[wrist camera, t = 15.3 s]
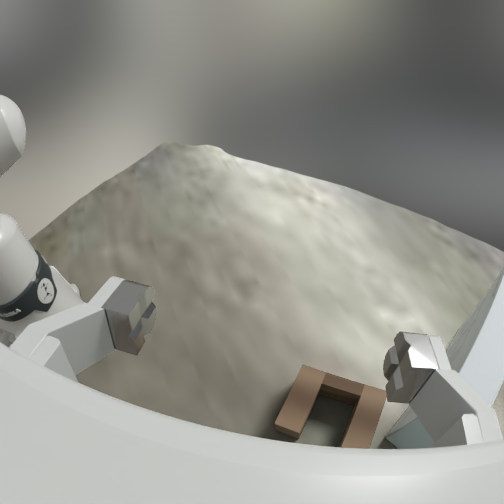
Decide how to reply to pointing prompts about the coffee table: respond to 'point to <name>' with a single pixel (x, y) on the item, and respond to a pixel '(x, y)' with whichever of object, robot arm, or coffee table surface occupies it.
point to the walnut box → (336, 388)
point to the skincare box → (467, 363)
